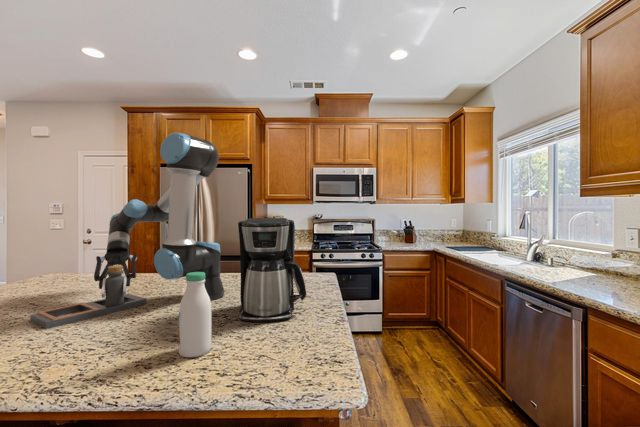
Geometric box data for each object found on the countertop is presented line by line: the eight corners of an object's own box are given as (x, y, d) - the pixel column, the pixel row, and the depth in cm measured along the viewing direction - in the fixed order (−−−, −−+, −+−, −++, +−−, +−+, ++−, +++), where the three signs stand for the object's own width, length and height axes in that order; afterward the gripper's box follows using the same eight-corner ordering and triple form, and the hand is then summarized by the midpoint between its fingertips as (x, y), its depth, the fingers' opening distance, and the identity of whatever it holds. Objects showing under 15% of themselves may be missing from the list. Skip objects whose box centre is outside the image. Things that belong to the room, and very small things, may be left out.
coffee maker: (245, 328, 93) (246, 218, 93) (223, 301, 121) (223, 217, 121) (311, 316, 104) (311, 218, 104) (276, 294, 132) (277, 217, 132)
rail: (146, 303, 117) (146, 297, 117) (46, 329, 91) (46, 321, 91) (128, 298, 124) (128, 293, 124) (30, 320, 98) (30, 313, 98)
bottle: (111, 304, 116) (111, 265, 116) (127, 304, 117) (127, 265, 117) (101, 309, 110) (102, 267, 110) (118, 308, 111) (118, 267, 111)
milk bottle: (217, 348, 79) (218, 271, 79) (194, 361, 72) (194, 277, 72) (196, 342, 83) (196, 269, 83) (171, 354, 76) (172, 274, 76)
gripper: (144, 249, 131) (143, 296, 117) (91, 252, 122) (82, 303, 108) (144, 238, 127) (143, 286, 112) (88, 240, 118) (80, 292, 103)
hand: (113, 294), depth 110 cm, fingers closed on bottle, 6 cm apart
